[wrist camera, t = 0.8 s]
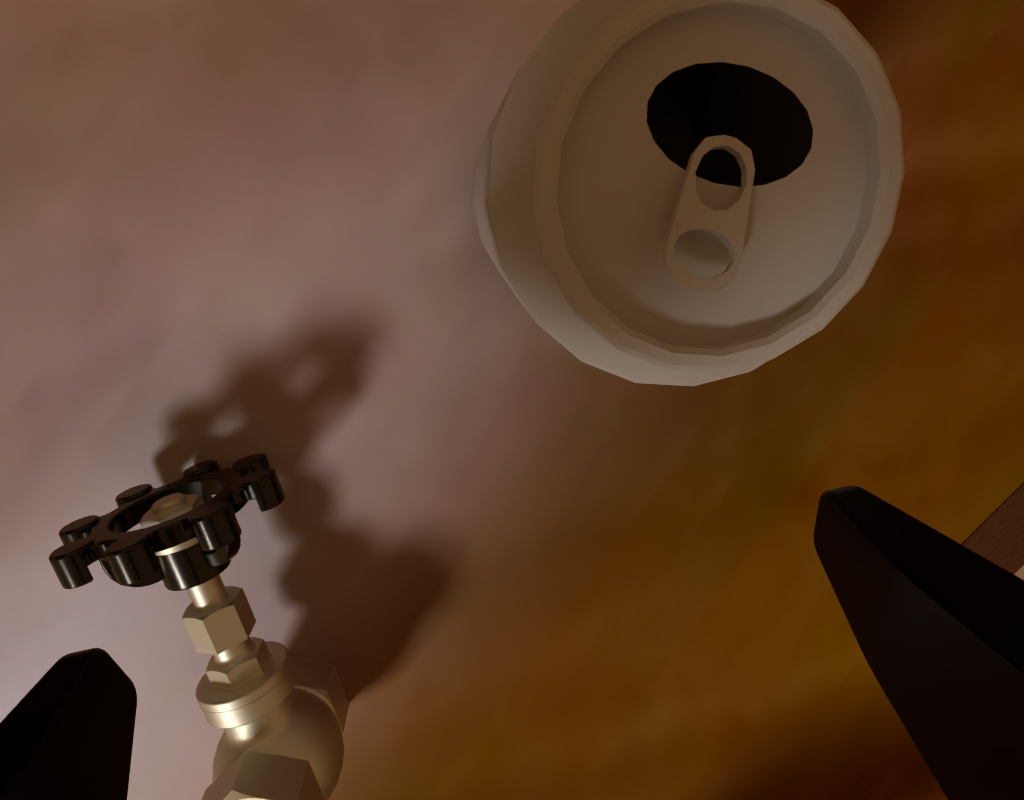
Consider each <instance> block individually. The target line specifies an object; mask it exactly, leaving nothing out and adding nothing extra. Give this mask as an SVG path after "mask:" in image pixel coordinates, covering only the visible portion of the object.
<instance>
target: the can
mask: <svg viewBox="0 0 1024 800" xmlns="http://www.w3.org/2000/svg"><path fill="white" fill-rule="evenodd" d="M904 172H905V171H904V157H903V143H902V130H901V116H900V109H899V106H898V104H897V101H896V99H895V96H894V94H893V91H892V89H891V86H890V84H889V81H888V79H887V76H886V74H885V71H884V69H883V66H882V64H881V61H880V59H879V56H878V54H877V52H876V51H875V50H874V49H873V48H872V46H871V45H870V44H869V43H868V42H867V41H866V40H865V38H864V37H863V36H862V35H861V34H860V33H859V32H858V30H857V29H856V28H855V27H854V26H853V25H852V23H851V22H850V21H849V20H848V19H847V18H846V17H845V15H844V14H843V13H842V12H841V11H840V10H839V9H838V7H836V6H834V5H832V4H830V3H828V2H827V1H825V0H582V1H580V2H579V3H577V4H575V5H574V6H572V7H571V8H569V9H568V10H566V11H565V12H563V14H562V15H561V16H560V17H559V19H558V20H557V21H556V22H555V24H554V25H553V26H552V27H551V29H550V30H549V31H548V32H547V34H546V35H545V36H544V38H543V39H542V40H541V41H540V43H539V44H538V45H537V46H536V48H535V49H534V50H533V51H532V53H531V54H530V55H529V56H528V58H527V59H526V60H525V61H524V63H523V64H522V65H521V67H520V68H519V69H518V71H517V73H516V75H515V77H514V79H513V81H512V83H511V85H510V87H509V89H508V91H507V93H506V95H505V97H504V99H503V101H502V103H501V106H500V108H499V110H498V112H497V114H496V116H495V118H494V120H493V122H492V124H491V126H490V128H489V130H488V133H487V136H486V138H485V141H484V143H483V146H482V149H481V151H480V154H479V157H478V159H477V162H476V164H475V173H474V189H473V205H472V206H473V210H474V214H475V218H476V222H477V226H478V230H479V234H480V238H481V242H482V245H483V246H484V248H485V250H486V251H487V253H488V254H489V256H490V258H491V259H492V261H493V263H494V264H495V266H496V268H497V269H498V271H499V273H500V274H501V276H502V277H503V278H504V280H505V281H506V283H507V284H508V285H509V287H510V288H511V289H512V291H513V292H514V294H515V295H516V296H517V298H518V299H519V300H520V302H521V303H522V305H523V306H524V307H525V309H526V310H527V311H528V313H529V314H530V315H531V317H532V318H533V320H534V321H535V322H536V323H537V324H538V325H539V326H540V327H541V328H543V329H544V330H545V331H546V332H547V333H548V334H550V335H551V336H552V337H553V338H554V339H556V340H557V341H558V342H559V343H560V344H561V345H563V346H564V347H565V348H566V349H567V350H568V351H570V352H571V353H572V354H573V355H574V356H576V357H577V358H578V359H579V360H580V361H582V362H584V363H587V364H589V365H592V366H594V367H597V368H599V369H602V370H604V371H607V372H609V373H612V374H614V375H617V376H619V377H622V378H624V379H627V380H629V381H632V382H634V383H647V384H664V385H681V386H696V385H700V384H704V383H708V382H712V381H715V380H719V379H723V378H727V377H731V376H735V375H739V374H743V373H747V372H750V371H752V370H754V369H755V368H757V367H759V366H760V365H762V364H764V363H765V362H767V361H769V360H770V359H774V358H775V357H777V356H779V355H780V354H782V353H784V352H785V351H787V350H789V349H790V348H792V347H794V346H795V345H797V344H799V343H800V342H802V341H804V340H805V339H807V338H809V337H810V336H812V335H814V334H815V333H817V332H819V331H820V330H822V329H823V328H824V327H825V326H826V325H827V324H828V323H829V322H830V321H831V320H832V319H833V318H834V317H835V316H836V314H837V313H838V312H839V311H840V310H841V309H842V308H843V307H844V306H845V305H846V304H847V303H848V302H849V301H850V300H851V298H852V297H853V296H854V295H855V294H856V293H857V292H858V291H859V290H860V289H861V288H862V287H863V285H864V284H865V282H866V280H867V278H868V276H869V274H870V272H871V270H872V268H873V266H874V265H875V263H876V261H877V259H878V257H879V255H880V253H881V251H882V249H883V247H884V246H885V244H886V242H887V240H888V238H889V236H890V234H891V232H892V228H893V223H894V218H895V214H896V209H897V205H898V200H899V195H900V191H901V186H902V181H903V177H904Z"/></svg>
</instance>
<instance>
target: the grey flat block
mask: <svg viewBox="0 0 1024 800" xmlns="http://www.w3.org/2000/svg"><path fill="white" fill-rule="evenodd" d="M962 545H963V546H965V547H966V548H968V549H970V550H972V551H973V552H975V553H977V554H979V555H980V556H982V557H984V558H986V559H988V560H989V561H991V562H993V563H995V564H996V565H998V566H1000V567H1002V568H1003V569H1005V570H1007V571H1009V572H1010V573H1012V574H1014V575H1016V576H1017V577H1019V578H1021V579H1023V580H1024V484H1023V485H1022V486H1021V487H1020V488H1019V489H1018V490H1017V491H1016V492H1015V493H1014V494H1013V495H1012V496H1011V497H1010V498H1009V499H1008V500H1007V501H1006V502H1005V503H1004V504H1003V505H1002V506H1001V507H1000V508H999V509H998V510H997V511H996V512H995V513H994V514H993V515H992V516H991V517H990V518H988V519H987V520H986V521H985V522H984V523H983V524H982V525H981V526H980V527H979V528H978V529H977V530H976V531H975V532H974V533H973V534H972V535H971V536H970V537H969V538H968V539H967V540H966V541H965V542H964V543H963V544H962Z"/></svg>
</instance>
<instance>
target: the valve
mask: <svg viewBox="0 0 1024 800" xmlns="http://www.w3.org/2000/svg"><path fill="white" fill-rule="evenodd" d="M183 476H184V477H183V478H181V479H179V480H177V481H175V482H173V483H170V484H167V485H164V486H162V487H159V488H154V489H153V488H152V486H151V485H150V484H143V485H139V486H135V487H133V488H130V489H128V490H126V491H124V492H122V493H120V494H119V495H118V496H117V497H116V499H115V500H116V503H117V505H118V507H119V508H117V509H115V510H114V511H112V512H110V513H108V514H106V515H103V516H101V517H99V516H96V515H92V516H87V517H84V518H81V519H78V520H76V521H74V522H71V523H70V524H68V525H66V526H64V527H63V528H62V529H61V530H60V531H59V536H60V538H61V540H62V542H63V544H64V545H63V546H61V547H59V548H58V549H56V550H55V551H53V552H52V553H51V554H50V556H49V561H50V563H51V565H52V567H53V569H54V571H55V573H56V575H57V577H58V579H59V581H60V583H61V585H62V587H63V588H65V589H72V588H77V587H80V586H83V585H85V584H87V583H89V582H91V581H93V577H92V575H91V573H90V571H89V569H88V567H87V566H88V565H90V564H92V563H93V562H95V561H97V560H99V561H100V563H101V566H102V568H103V569H104V571H105V573H106V574H107V575H108V576H109V577H110V578H111V579H112V580H113V581H115V582H117V583H119V584H120V585H124V586H129V587H143V586H148V585H151V584H154V583H157V582H159V581H161V580H163V582H164V585H165V587H166V588H167V589H169V590H171V591H181V590H186V589H187V591H188V593H189V595H190V597H191V600H192V603H191V604H190V605H189V606H188V607H187V608H186V610H185V612H184V614H183V617H182V621H183V623H184V625H185V628H186V630H187V632H188V634H189V636H190V639H191V641H192V643H193V645H194V647H195V650H196V652H197V653H205V654H213V656H212V658H211V659H210V661H209V663H208V665H207V669H206V673H205V674H204V676H203V677H202V678H201V680H200V681H199V683H198V686H197V688H196V699H197V701H198V703H199V705H200V707H201V709H202V711H203V713H204V716H205V718H206V720H207V722H208V723H209V724H210V725H211V726H213V727H216V728H220V729H224V733H223V735H222V736H221V738H220V740H219V743H218V746H217V749H216V753H215V757H214V761H213V775H212V779H213V783H212V784H211V785H210V786H209V787H208V788H207V789H206V791H205V793H204V795H203V798H202V800H328V799H329V797H330V795H331V794H332V792H333V790H334V788H335V786H336V784H337V782H338V779H339V776H340V773H341V769H342V764H343V756H344V744H343V735H342V733H343V732H344V727H345V722H346V717H347V712H348V707H349V702H348V699H347V696H346V694H345V691H344V688H343V686H342V683H341V681H340V678H339V676H338V673H337V670H336V668H335V666H334V664H333V663H330V662H326V661H320V660H315V659H309V658H304V657H298V656H292V655H289V653H288V650H287V648H286V647H285V646H284V645H283V644H281V643H278V642H273V641H266V642H265V641H264V640H263V639H260V638H256V637H249V635H250V633H251V631H252V629H253V627H254V625H255V623H256V619H255V617H254V615H253V612H252V610H251V607H250V605H249V603H248V600H247V598H246V595H245V593H244V591H243V589H242V588H239V587H234V586H226V587H225V586H224V584H223V582H222V579H221V577H220V575H219V574H220V573H222V572H223V571H224V570H225V569H226V568H227V567H228V565H229V564H230V562H231V558H233V557H234V556H235V555H236V554H237V553H238V551H239V548H240V535H241V532H242V531H241V529H240V526H239V524H238V521H237V519H236V516H235V513H237V512H238V511H239V510H240V509H241V508H242V507H243V506H244V505H245V504H246V503H247V502H248V500H253V499H256V500H257V502H258V505H259V507H260V510H261V511H262V512H263V511H267V510H269V509H272V508H274V507H276V506H278V505H279V504H280V503H282V502H283V501H284V499H285V494H284V492H283V489H282V486H281V484H280V481H279V478H278V476H277V473H276V471H275V470H274V469H272V468H271V467H270V464H269V462H268V459H267V456H266V455H265V454H263V453H258V454H253V455H250V456H247V457H244V458H242V459H240V460H238V461H236V462H235V463H234V464H233V465H232V467H231V468H228V469H225V470H221V471H220V469H219V466H218V464H217V462H216V461H214V460H209V461H204V462H201V463H198V464H195V465H193V466H191V467H189V468H188V469H186V470H185V471H184V472H183ZM214 494H217V495H216V496H214V497H213V498H212V496H211V495H214ZM138 523H140V524H141V526H142V528H143V529H139V530H135V531H129V532H127V531H128V530H129V529H131V528H132V527H133V526H135V525H137V524H138Z"/></svg>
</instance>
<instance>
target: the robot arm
mask: <svg viewBox="0 0 1024 800" xmlns="http://www.w3.org/2000/svg"><path fill="white" fill-rule="evenodd" d="M814 544H815V548H816V551H817V554H818V556H819V558H820V561H821V563H822V565H823V567H824V569H825V572H826V574H827V576H828V578H829V580H830V583H831V585H832V587H833V589H834V591H835V594H836V596H837V598H838V600H839V602H840V605H841V607H842V609H843V611H844V613H845V615H846V618H847V620H848V622H849V624H850V626H851V629H852V631H853V633H854V635H855V637H856V640H857V642H858V644H859V646H860V648H861V650H862V652H863V654H864V656H865V658H866V660H867V663H868V664H869V666H870V668H871V670H872V672H873V673H874V675H875V677H876V679H877V681H878V682H879V684H880V686H881V687H882V689H883V691H884V692H885V694H886V696H887V697H888V699H889V701H890V703H891V704H892V706H893V708H894V709H895V711H896V713H897V714H898V716H899V718H900V719H901V721H902V723H903V724H904V726H905V728H906V730H907V731H908V733H909V735H910V736H911V738H912V740H913V741H914V743H915V745H916V746H917V748H918V750H919V751H920V753H921V755H922V757H923V758H924V760H925V762H926V763H927V765H928V767H929V768H930V770H931V772H932V773H933V775H934V777H935V778H936V780H937V782H938V784H939V785H940V787H941V789H942V790H943V792H944V794H945V795H946V797H947V799H948V800H1024V580H1023V579H1021V578H1019V577H1017V576H1016V575H1014V574H1012V573H1010V572H1009V571H1007V570H1005V569H1003V568H1002V567H1000V566H998V565H996V564H995V563H993V562H991V561H989V560H988V559H986V558H984V557H982V556H980V555H979V554H977V553H975V552H973V551H972V550H970V549H968V548H966V547H965V546H963V545H961V544H959V543H958V542H956V541H954V540H952V539H951V538H949V537H947V536H945V535H944V534H942V533H940V532H938V531H937V530H935V529H933V528H931V527H929V526H928V525H926V524H924V523H922V522H921V521H919V520H917V519H915V518H914V517H912V516H910V515H908V514H907V513H905V512H903V511H901V510H900V509H898V508H896V507H894V506H893V505H891V504H889V503H887V502H885V501H884V500H882V499H880V498H878V497H877V496H875V495H873V494H871V493H870V492H868V491H866V490H864V489H862V488H860V487H857V486H846V487H841V488H837V489H832V490H827V491H825V492H824V493H823V494H822V495H821V496H820V500H819V505H818V511H817V517H816V523H815V529H814ZM136 707H137V694H136V689H135V687H134V684H133V682H132V681H131V680H130V678H129V677H128V676H127V675H126V674H125V673H124V671H123V670H122V669H121V668H120V667H119V666H118V665H117V663H116V662H115V661H114V660H113V659H112V658H111V656H110V655H109V654H108V653H107V652H106V651H105V650H102V649H99V648H93V649H88V650H83V651H79V652H74V653H70V654H67V655H65V656H63V657H62V658H60V659H59V660H58V661H57V662H56V663H55V664H54V665H53V666H52V667H51V668H50V669H49V671H48V672H47V673H46V674H45V675H44V676H43V677H42V678H41V679H40V680H39V681H38V683H37V684H36V685H35V686H34V687H33V688H32V689H31V690H30V691H29V692H28V693H27V694H26V696H25V697H24V698H23V699H22V700H21V701H20V702H19V703H18V704H17V705H16V706H15V708H14V709H13V710H12V711H11V712H10V713H9V714H8V715H7V716H6V717H5V718H4V719H3V721H2V722H1V723H0V800H127V793H128V783H129V774H130V764H131V755H132V745H133V735H134V726H135V716H136Z"/></svg>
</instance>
